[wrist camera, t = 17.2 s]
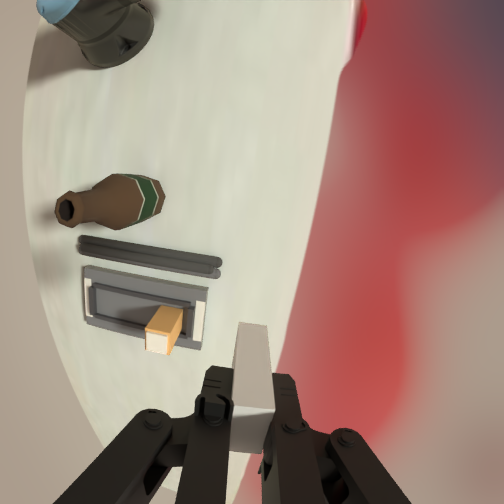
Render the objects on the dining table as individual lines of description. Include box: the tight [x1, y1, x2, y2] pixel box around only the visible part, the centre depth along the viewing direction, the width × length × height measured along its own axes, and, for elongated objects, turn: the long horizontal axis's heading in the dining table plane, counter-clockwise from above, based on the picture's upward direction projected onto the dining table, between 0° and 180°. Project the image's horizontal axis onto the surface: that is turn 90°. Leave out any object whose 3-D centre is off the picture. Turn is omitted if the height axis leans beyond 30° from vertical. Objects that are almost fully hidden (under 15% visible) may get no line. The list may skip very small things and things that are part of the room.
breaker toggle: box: [145, 305, 183, 355], centre depth 45 cm, size 4×4×10 cm
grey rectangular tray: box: [84, 265, 208, 350], centre depth 50 cm, size 12×24×3 cm, turn 81°
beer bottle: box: [55, 174, 165, 230], centre depth 36 cm, size 8×8×24 cm
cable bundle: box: [79, 235, 222, 279], centre depth 48 cm, size 28×4×3 cm, turn 81°
